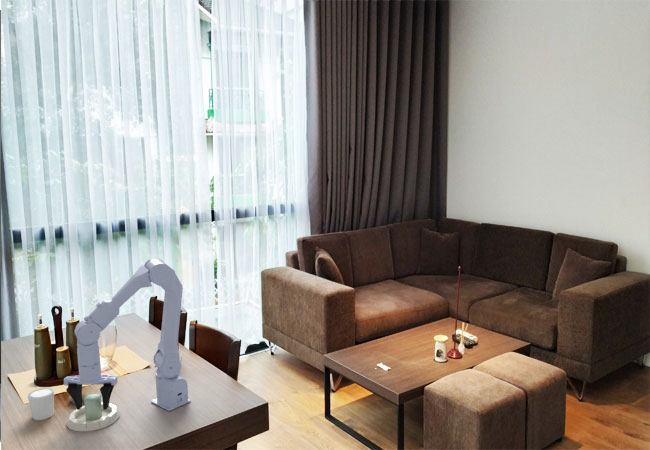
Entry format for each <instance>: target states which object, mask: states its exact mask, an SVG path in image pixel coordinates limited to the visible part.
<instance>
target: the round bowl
mask: <svg viewBox="0 0 650 450" xmlns="http://www.w3.org/2000/svg"><path fill="white" fill-rule="evenodd" d="M101 407H102V417H101V418H100V419H98V420H95V421H87V420H86V417H85V405H83V406H82V407H81V408H80V409H79V410H77V408H76V409H74V410H73V411H72V412H71V413H69V418H68V419H67V420H66V425H67V427H68V429H69V430H71V431H74V432H79V433H80V432H81V433H87V432H89V433H90V432H94V431H98V430H102V429H105V428H108V427H109V426H112V425H113V424H114V423H116V422H118V421H119V419H120V415H121V414H120V413H121V412H120V410H119V408H117V405H115V404H113V403H111V402H109V407H108V408H107V409H106V410H104V409H103V401H101Z"/></svg>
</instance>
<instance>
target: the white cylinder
mask: <svg viewBox="0 0 650 450" xmlns="http://www.w3.org/2000/svg"><path fill="white" fill-rule="evenodd" d="M27 399H28V403H29V407H30V409H29V410H30V413H31V418H32V420H35V421H43V420H47V419H49V418H51V417H52V416H53V415H54V413H55V390H54V388H52V387H51V388H50V387H44V388H43V387H42V388H39V389H34V390H33V391H30V392H29V393H28V395H27Z"/></svg>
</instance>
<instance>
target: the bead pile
mask: <svg viewBox="0 0 650 450" xmlns="http://www.w3.org/2000/svg"><path fill="white" fill-rule="evenodd" d="M88 395H89V394H86V393H85V392H83V391H82V401H83V403H84V398H85V397H86V396H88ZM67 400H68V402H70V403H73V404H74V405H75V403H74V401H73V399H72V397H71V396H70V394H69V395H68V398H67Z"/></svg>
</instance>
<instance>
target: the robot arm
mask: <svg viewBox="0 0 650 450" xmlns="http://www.w3.org/2000/svg"><path fill="white" fill-rule="evenodd" d="M152 283H153V284H154V285H157V286H159V287H161V288H162V289H163V291H164V296H163V297H164V299H163V307H162V309H163V310H162V319H161V320H162V322H161V329H160V330H161V331H160V338H159V339H160V340H159V343H158V344H157V349H156V351H155V353H154V355H153V359H152V360H153V364H154V366H155V365H156V366H157V367H156V368H157V369H156V371H155V387H156V388H155V389H156V398H154V399H151V400H150V402H151V403H152V404H154V405H156V406H158V407H161V408H162V409H164V410H166V411H168V412H170V411H173V410H176V409H177V408H179V407H181V406H183V405H186V404H188V403H190V402H191V401H192V399H190V398H189V391H188V390H189V388H188V382H187V380H186V379H185V378H183V376H182V374H181V370H182V363H181V361H180V360H179V357H180V349H179V350H178V345H177V343H178V344H179V331H180V330H179V329H180V321H181V319H180V318H181V310H182V309H181V308H182V301H183V299H182V298H183V289H184V288H183V284H182V283H181V281H180V279H179V277H178V275H177V273H176V270H174V269H173V268H172V267H171V266H170V265H168V264H167V263H165V262H164V261H163V260H162V259H160V258H157V257H154V258H153V257H152V258H149V259H148V260H146V261H145V263H144V265H143V264H142V265H141V266H140V267H138V269H137V270H136V271H135V273H134V274H133V275H132V276H131V277H130V278H129V279H128V280H127V281H126V282H125V284H123V286H122V287H121V288H120V289H119V290H118V291H117V292H116V293H115V294H114V296H113V297H112V298H111V299H106V300H104V299H103V300H102V302H99V301H98V302H97V304H96V308H95V309H93V311H92V312H91V313H90V314H89V315H88V316H86V315H85V316H84V318H83V320H81V321H80V322H78V323H77V324H76V326H75V328H74V330H73V331H74V336H75V338H76V346H77V348H76V353H77V354H76V355H77V364H78V367H77V368H78V375H69V376H68V375H67V376H66V377H64V378H63V385H64V386H67V388H66V389H65V390H66V393H67V394H69V395H70V396H71V397H72V399H73V401H74V403H75V404H74V403H73V404H74V405H75V408H76V409H77V410H79V409H80V408H81V407H82V406H84V402H83V401H82V392H83V385H84V386H90V385H102V386H101V387H100V388H99V392H100V395H101V400H102V402H103V409H104V410H106V409H107V408H108V407H109V403H110V400H111V396H112V392H113V391H114V387H115V386H116V385H117V384H118V382H119V381H118V375H109V374H102V368H101V366H102V365H101V356H100V354H101V353H100V346H99V339H100V335H101V332H102V331H104V330H105V329H106V328H107V327H108V326H109V325H110V324H111V323H112V322H113V321H114V320H115V319H116V318H117V317H118V316H119V315H120V308H121V306H123V305H124V304H125V303H126V302H127V301H128V300H129V299H130V298H131V297H133V296H134V295H135V294H136V293H137V292H138V291H139V290H141V289H142V288H150V287H153V285H152Z"/></svg>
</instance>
